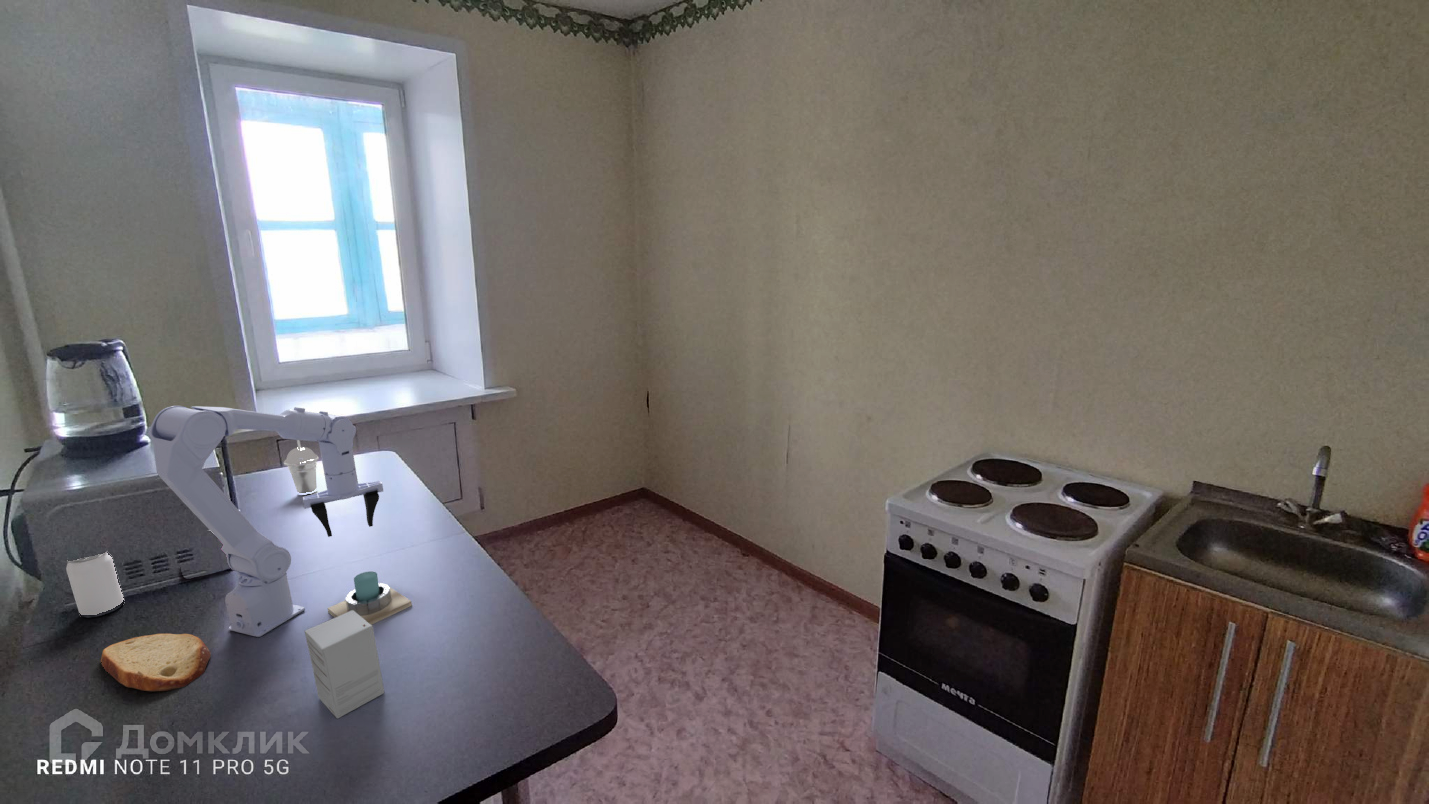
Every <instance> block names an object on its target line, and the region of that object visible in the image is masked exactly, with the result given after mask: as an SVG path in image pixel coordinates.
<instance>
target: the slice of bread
mask: <svg viewBox="0 0 1429 804" xmlns="http://www.w3.org/2000/svg"><path fill="white" fill-rule="evenodd" d="M211 655H212V653H211V652H210V650H209V648H208V646H207V645H206V644H205V642H204V641H203V640H202V639H201V638H199V636H195V635H193V634H190V633H181V634H180V633H179V634H178V633H175V634H174V633H170V632H169V633H156V634H149V635H142V636H136V637H131V638H129V639H125V640H122V641H119V642H115V643H113V644H110V645H108V646H107V647H105V648H104V649H103V650H102V654H101V659H100V663H101V662H102V663H101V665H102V668H103V667H104V668H103V670H104V669H105V672H106V673H107V672H108V673H107V674H109V673H110V674H109V675H110V676H111V677H112V678H114V679H115V681H116V682H118V683H119V684H121V685H123V686H124V687H126V688H128V689H129V688H131V689H136V690H139V691H145V692H165V691H166V692H167V691H172V690H175V689H180V688H181V689H182V688H184V687H185V686H188V685H190V683H192V682H194V681H195V680H196V679H198V678H199V677H200V676H202V675H203V674H204V673H205V672H206V667H207V665H208V662H209V661H210V659H211Z"/></svg>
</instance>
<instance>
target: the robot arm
mask: <svg viewBox="0 0 1429 804" xmlns="http://www.w3.org/2000/svg"><path fill="white" fill-rule="evenodd" d="M237 430H253V431H267V432H268V431H269V432H275V433H277V434H278V435H279V437H280V438H282V439H284V440H294V441H297V440H300V441H305V442H316V443H317V442H318V446H319V453H320V457H321V463H322V468H323V475H324V480H325V486H326V489H325V490H323V491H319V492H316V493H314V494H311V495H307V496H301V497H302V503H303V507H304V509H309V508H310V509H311V512H312V514H314V516H315V517H316V518H317V519H318V520H319V522H320V523H321V524H322V526H323V528H324V529H325V531H326V534H327V537H328V538H330V537H332V536H333V535H332V529H331V527H330V523H329V517H328V511H327V508H326V503H327V504H328V503H331V502H332V503H333V502H335V501H341V500H342V501H343V500H348V499H351V498H355V497H358V496H363V500H364V505H365V512H366V522H367V525H368V527H373V526H374V523H373V522H374V514H375V510H376V507H377V504H378V503H379V499H380V495H379V493H382V492H384V486H383V482H382V480H377V481H372V482H371V481H370V482H362V483H361V482H359V481H358V480H359V479H358V475H357V468H356V467H357V466H356V461H355V455H354V450H353V447H354V444H353V441H354V437H355V436H356V433H357V426H355V425H354V424H353V422H352V421H351V420H350V419H349V418H348V417H346V416H343V415H336V414H330V413H328V411H322V410H320V411H319V412H312V411H306V408H304V407H294V408H293V409H286V410H284V411H282V412H281V413H280V414H274V413H272V414H271V413H265V412H258V411H252V410H244V409H239V408H238V409H237V408H231V407H224V406H200V405H199V406H197V405H195V406H191V408H188V407H186V406H183V405H172V406H168V407H164V408H162V410H160V411H159V412H157V414H156V415H155V417H154V419H153V420H152V423H151V425H150V428H149V430H148V432H147V433H148V436H149V439H150V440H151V442H152V444H153V449H154V451H153V452H154V458H155V459H154V460H155V469H156V473H157V475H158V476H159V478H160V479H161V480H162V481H163V482H164V483H165V484H166V485H167V487H169V489H170V490H171V491H172V492H173V493H174V494H175V495H176V496H177V497H178V498H179V499H180V501H182V502H183V504H184V505H186V507H187V508H188V509H189V510H190V511H191V512H192V513H193V514H194V516H196V518H198V520H200V522H202V524H204V526H205V527H206V528H207V529H208V531H211V532H212V533H213V534H214V535H215V536H216V537H217V538H218V540H219V541H220V542H221V543H222V544H223V546H222V548H221V550H222V551H223V552H224V553H225V554H226V557H227V563H228V565H229V567H230V568H231V569H230V570H233V571H234V572H237V576H238V582H239V583H238V584H237V585H236V586H235V587H234V589H232V590H231V591H229V592H228V593H227V594H226V595H225V599H224V600H225V602H224V603H225V608H226V612H227V615H228V619H229V624H230V626H229V627H228V630H229V631H232V632H236V633H241V634H244V635H248V636H253V637H257V638H260V637H262V636H264V635H265V634H267V633H268V632H271V631H272V630H273V629H275V628H277V627H278V626H280V625H282V624H283V623H285V622H286V621H288V620H290V619H293V618H294V617H295V616H297V615H298V614H300V613H302V612H303V611H305V610H306V608H305V607H304V606H302V605H296V604H293V600H292V596H291V590H290V585H289V581H288V576H287V575H288V574H287V573H288V570H289V568H290V566H291V563H292V556H291V553H290V551H289V550H287V549H286V548H284V547H281V546H278V545H277V544H275V543H274V541H272V539H270V538H268V537H267V536H265V535H264V534H262V533H261V532H259V531H258V530H257V529H256V528H255V527H254V526H253V525H252V524H251V522H250V521H249V520H248V519H247V518H246V517H245V516H244V514H242V512H241V511H240V510H239V509H238V508H237V506H236V505H235V504H234V503H233V502H232V501H231V499H230V498H228V496H227V495H226V494H225V492H223V490H222V488H220V487H219V486H218V485H217V484H216V483H215V481H214V480H213V479H212V478H211V477H210V476H209V474H208V473H207V472H206V470H204V465H205V462H206V461H207V459H208V458H209V457H210V456H211V455H212V453H213V452H214V450H215V449H216V448H217V447H218V445H219V444H220V443H221V441H222V440H223V439H224V437H225V436H227V437H230V436H231V437H232V435H233V434H234V433H235V432H236V431H237Z"/></svg>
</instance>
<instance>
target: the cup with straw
mask: <svg viewBox="0 0 1429 804" xmlns="http://www.w3.org/2000/svg"><path fill="white" fill-rule="evenodd" d="M296 444H297V447H294V448H292V449H291V450H290V451H289V452H288V453H287V456H286V459H284V461H283V466H285V467H287V469H288V471H289V473H290V475H291V477H292V480H293V483H294V486H295V489H296V491H297V493H298V492H299V493H306V492H312V491H314V490H315V489H316V490H317V487H318V486H317V461H318V460H320V457H319V456H318V454H316V453H315V452H314V450H312V449H311V448H309V447H307V446H302V445H301V440H296Z"/></svg>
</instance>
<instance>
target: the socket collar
mask: <svg viewBox="0 0 1429 804" xmlns="http://www.w3.org/2000/svg"><path fill="white" fill-rule="evenodd" d="M378 584H379V591H380V595H379V596H378V597H376V598H373V599H371V600H368V601H360V602H359V601H357V598H356V591H355V588H354V589H353V590H351V591H350V592H348V594H347V595H346V597H345V598H344V599H345V600H346V606H347V611H348V612H349V611H351V610H353V611H355V612H356V613H357V614H358V615H360V616H363V615H370V614H373V613H376V612H378V611H380V610H382V609H384V608H385V607H387V606H388V605H389V604H390V602H391V600H392V598H391V592H390V588H391V587H390V586H389V585H388V584H387V583H382V582H378ZM389 587H390V588H389ZM345 600H344V601H345Z"/></svg>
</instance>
